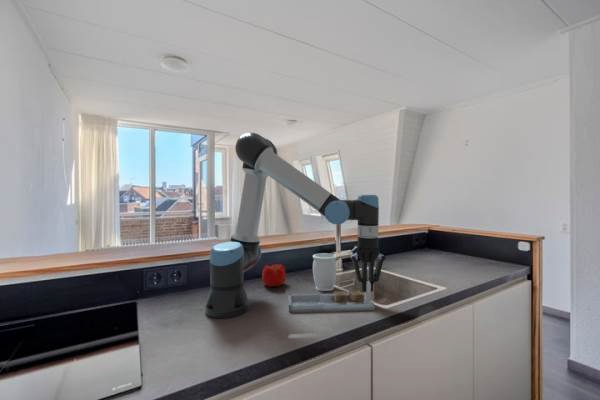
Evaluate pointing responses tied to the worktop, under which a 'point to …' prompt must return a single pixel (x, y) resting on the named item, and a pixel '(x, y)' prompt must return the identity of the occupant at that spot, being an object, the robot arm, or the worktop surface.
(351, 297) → the brown wooden cube
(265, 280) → the tomato
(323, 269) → the jar
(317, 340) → the worktop surface
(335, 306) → the slot rail
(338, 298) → the chip
